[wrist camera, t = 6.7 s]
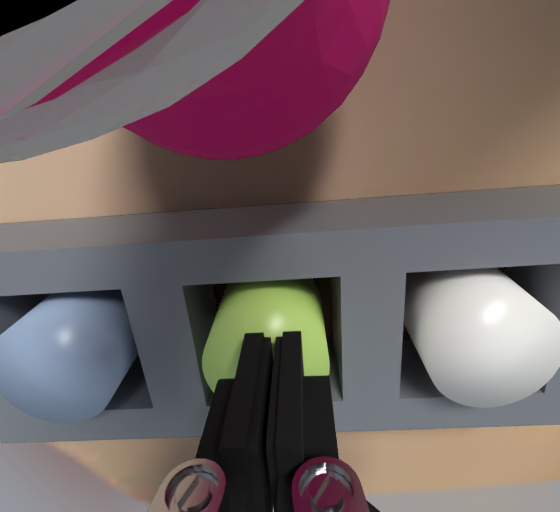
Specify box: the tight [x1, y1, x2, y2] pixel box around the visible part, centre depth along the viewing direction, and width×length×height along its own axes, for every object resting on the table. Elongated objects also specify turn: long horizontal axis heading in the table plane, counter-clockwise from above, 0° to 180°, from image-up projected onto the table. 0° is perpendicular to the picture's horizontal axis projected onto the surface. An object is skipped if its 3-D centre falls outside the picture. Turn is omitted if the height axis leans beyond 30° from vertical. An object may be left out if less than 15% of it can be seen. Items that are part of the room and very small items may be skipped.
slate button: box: [0, 289, 138, 424], centre depth 14 cm, size 4×4×4 cm
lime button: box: [202, 278, 330, 392], centre depth 14 cm, size 4×4×4 cm
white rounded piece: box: [404, 267, 560, 408], centre depth 13 cm, size 4×4×4 cm
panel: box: [0, 185, 560, 443], centre depth 14 cm, size 22×8×4 cm, turn 95°
